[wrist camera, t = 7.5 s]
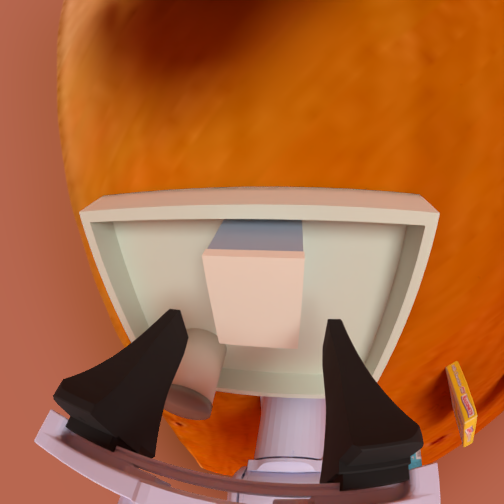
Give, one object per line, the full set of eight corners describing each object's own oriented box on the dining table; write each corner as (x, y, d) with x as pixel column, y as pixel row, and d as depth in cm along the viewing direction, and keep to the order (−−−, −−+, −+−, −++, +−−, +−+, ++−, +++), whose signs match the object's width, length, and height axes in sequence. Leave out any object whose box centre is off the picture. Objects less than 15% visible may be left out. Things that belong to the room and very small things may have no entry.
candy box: (463, 400, 27) (473, 442, 20) (452, 406, 28) (461, 448, 21) (459, 358, 22) (478, 416, 15) (444, 366, 23) (461, 426, 16)
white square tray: (365, 372, 24) (368, 396, 21) (161, 357, 27) (151, 378, 25) (419, 194, 14) (439, 213, 12) (103, 195, 18) (79, 212, 15)
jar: (230, 362, 24) (215, 423, 19) (185, 356, 25) (163, 412, 19) (224, 330, 22) (203, 399, 16) (173, 324, 23) (144, 386, 17)
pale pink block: (299, 293, 19) (297, 348, 15) (235, 290, 20) (219, 343, 15) (302, 213, 16) (304, 258, 12) (226, 212, 17) (201, 255, 12)
